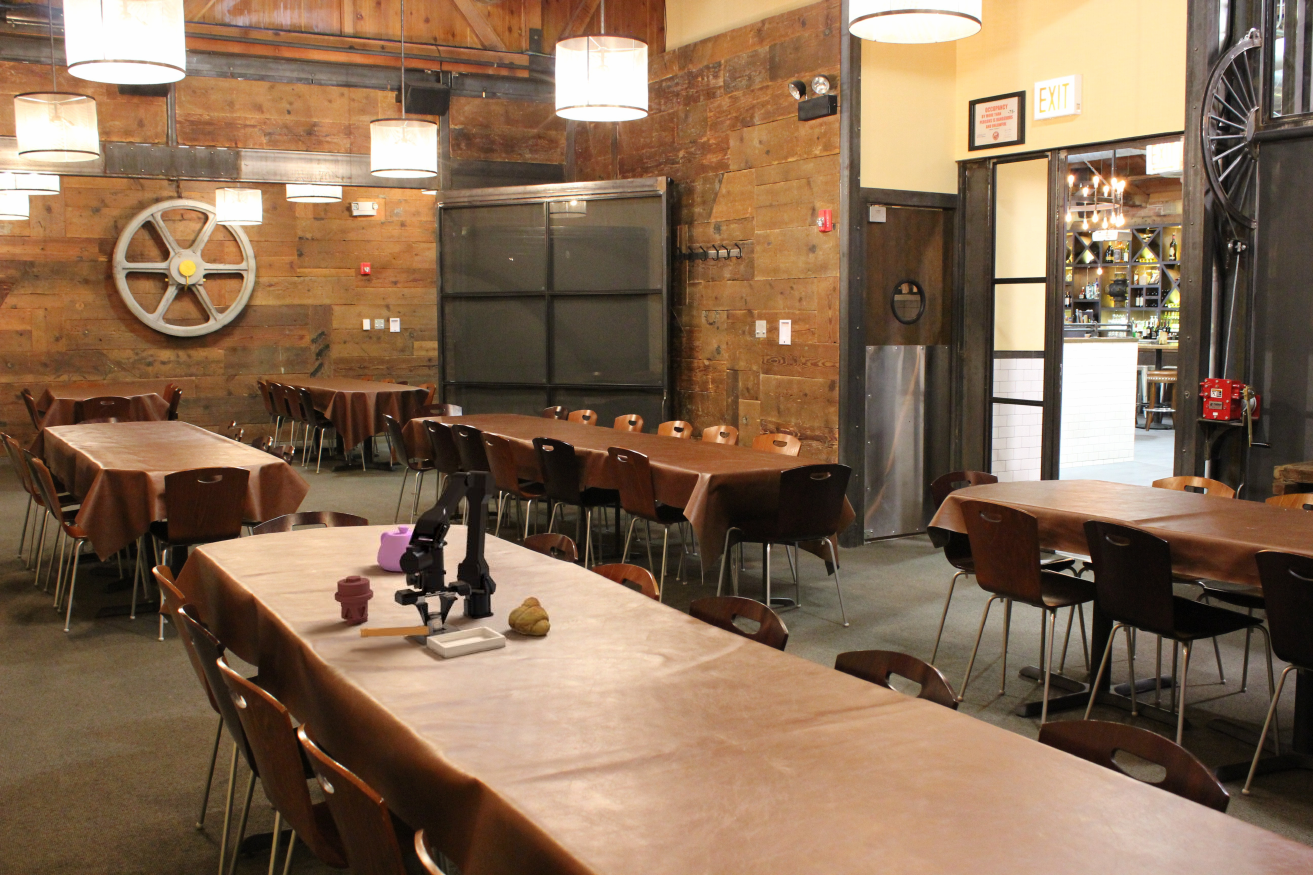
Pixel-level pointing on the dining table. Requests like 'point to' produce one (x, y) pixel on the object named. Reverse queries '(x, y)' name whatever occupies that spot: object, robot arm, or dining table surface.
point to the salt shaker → (435, 620)
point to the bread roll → (530, 618)
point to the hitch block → (435, 633)
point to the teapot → (393, 548)
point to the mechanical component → (354, 598)
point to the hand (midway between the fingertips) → (434, 625)
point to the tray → (465, 642)
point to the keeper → (398, 631)
